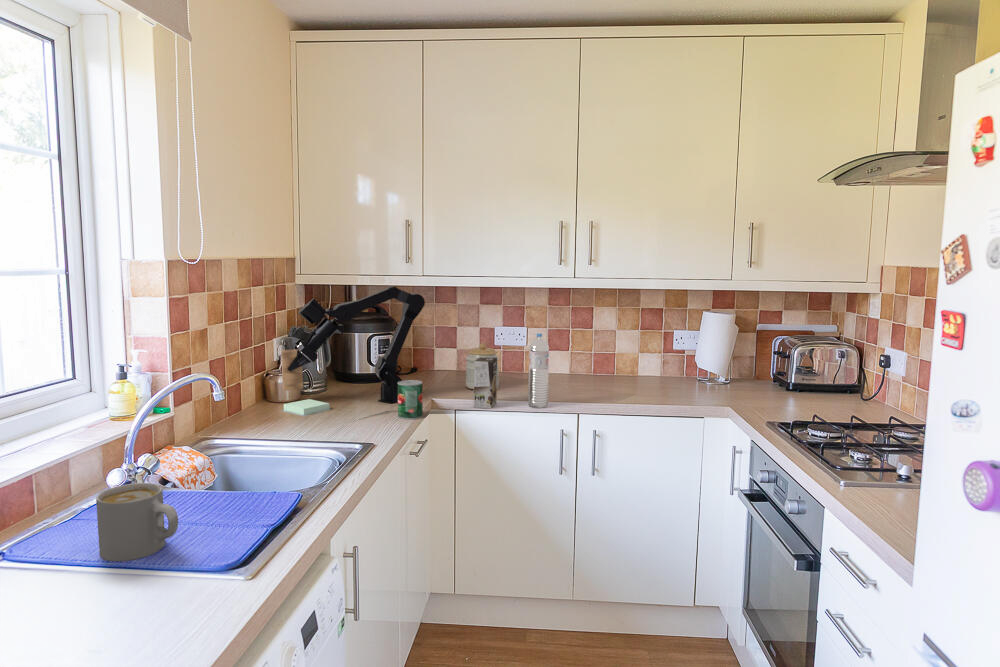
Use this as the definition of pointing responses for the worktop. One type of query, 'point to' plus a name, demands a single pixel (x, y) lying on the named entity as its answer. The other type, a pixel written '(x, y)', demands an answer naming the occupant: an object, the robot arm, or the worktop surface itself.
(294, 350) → the walnut post
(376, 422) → the worktop surface
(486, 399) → the coffee box
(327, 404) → the sage top slab
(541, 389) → the water bottle
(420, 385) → the canned tomato
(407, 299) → the robot arm
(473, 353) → the jar
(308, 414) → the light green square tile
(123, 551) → the coffee mug
